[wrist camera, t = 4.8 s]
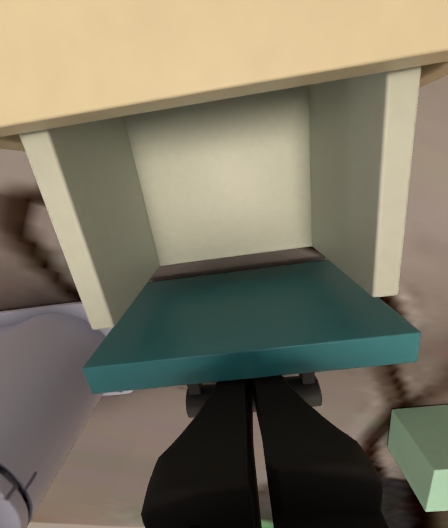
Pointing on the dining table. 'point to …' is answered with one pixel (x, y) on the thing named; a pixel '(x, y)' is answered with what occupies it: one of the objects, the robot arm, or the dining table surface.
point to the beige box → (196, 52)
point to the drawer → (238, 233)
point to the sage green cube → (422, 452)
